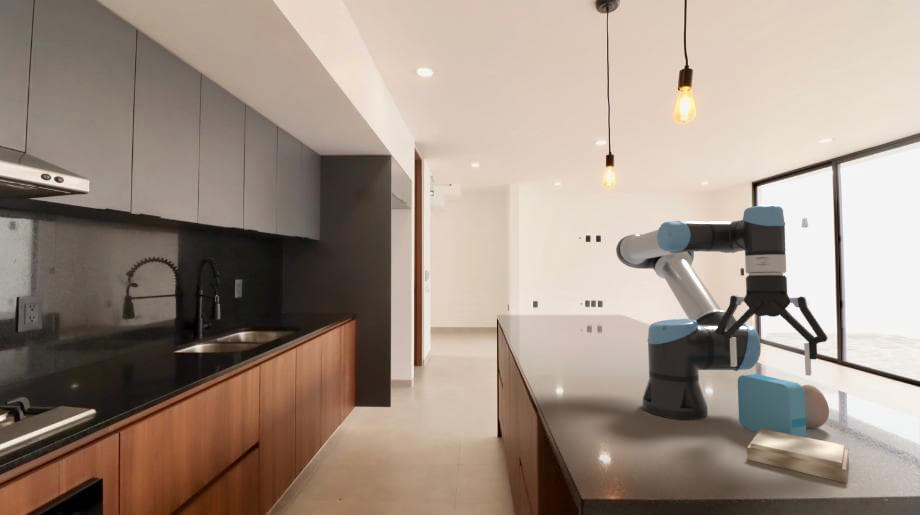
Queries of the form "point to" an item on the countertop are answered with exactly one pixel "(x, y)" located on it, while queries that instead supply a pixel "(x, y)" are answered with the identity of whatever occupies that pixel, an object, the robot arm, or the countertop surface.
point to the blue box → (771, 405)
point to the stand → (800, 454)
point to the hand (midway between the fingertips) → (769, 370)
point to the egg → (815, 407)
